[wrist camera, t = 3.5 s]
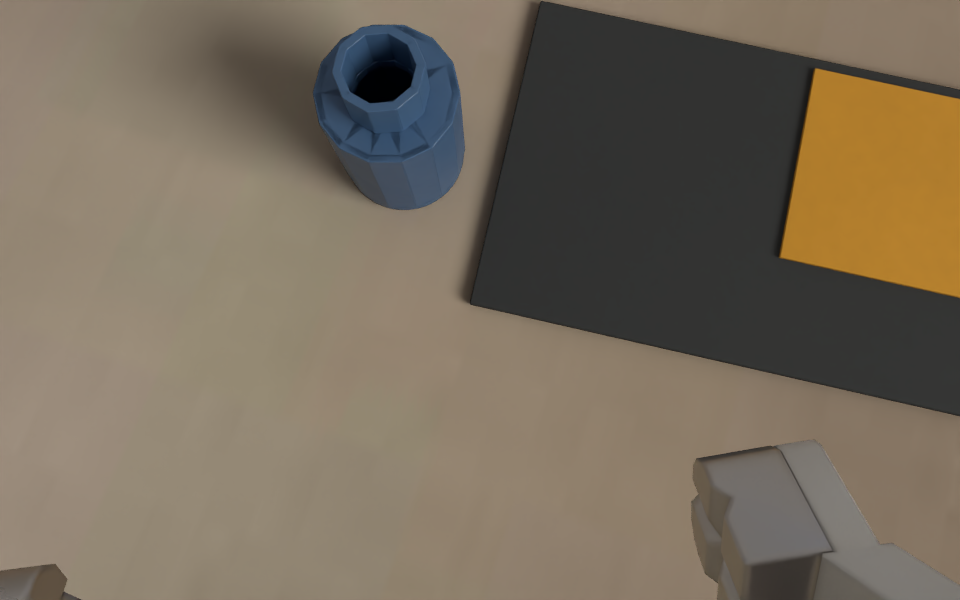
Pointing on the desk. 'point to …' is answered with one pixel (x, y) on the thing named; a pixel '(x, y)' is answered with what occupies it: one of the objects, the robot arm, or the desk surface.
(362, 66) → the vase
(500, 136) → the desk surface
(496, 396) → the desk surface
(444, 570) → the desk surface
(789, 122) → the desk mat
